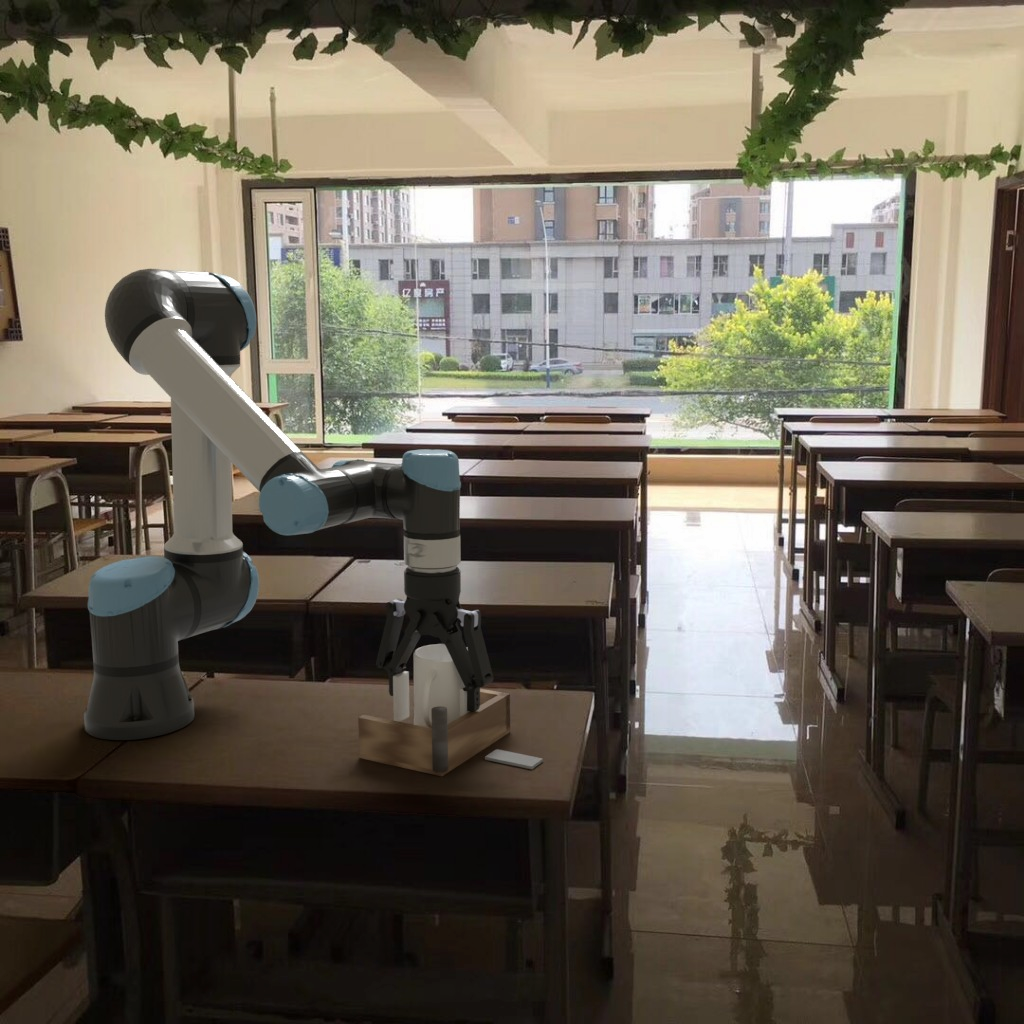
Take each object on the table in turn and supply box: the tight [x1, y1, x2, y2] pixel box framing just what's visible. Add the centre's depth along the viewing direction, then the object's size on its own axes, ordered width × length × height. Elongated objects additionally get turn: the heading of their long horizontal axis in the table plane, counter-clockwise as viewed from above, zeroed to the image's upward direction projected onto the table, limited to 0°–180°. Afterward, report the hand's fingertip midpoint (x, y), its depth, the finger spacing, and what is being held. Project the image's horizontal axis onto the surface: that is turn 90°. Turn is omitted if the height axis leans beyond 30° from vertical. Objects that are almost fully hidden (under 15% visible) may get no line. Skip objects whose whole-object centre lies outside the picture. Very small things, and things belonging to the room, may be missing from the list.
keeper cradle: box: [357, 688, 511, 777], centre depth 146 cm, size 13×18×9 cm
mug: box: [412, 643, 468, 728], centre depth 146 cm, size 12×8×12 cm
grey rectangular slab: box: [484, 748, 544, 770], centre depth 141 cm, size 7×3×1 cm, turn 61°
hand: (434, 726), depth 147 cm, fingers open, 10 cm apart
